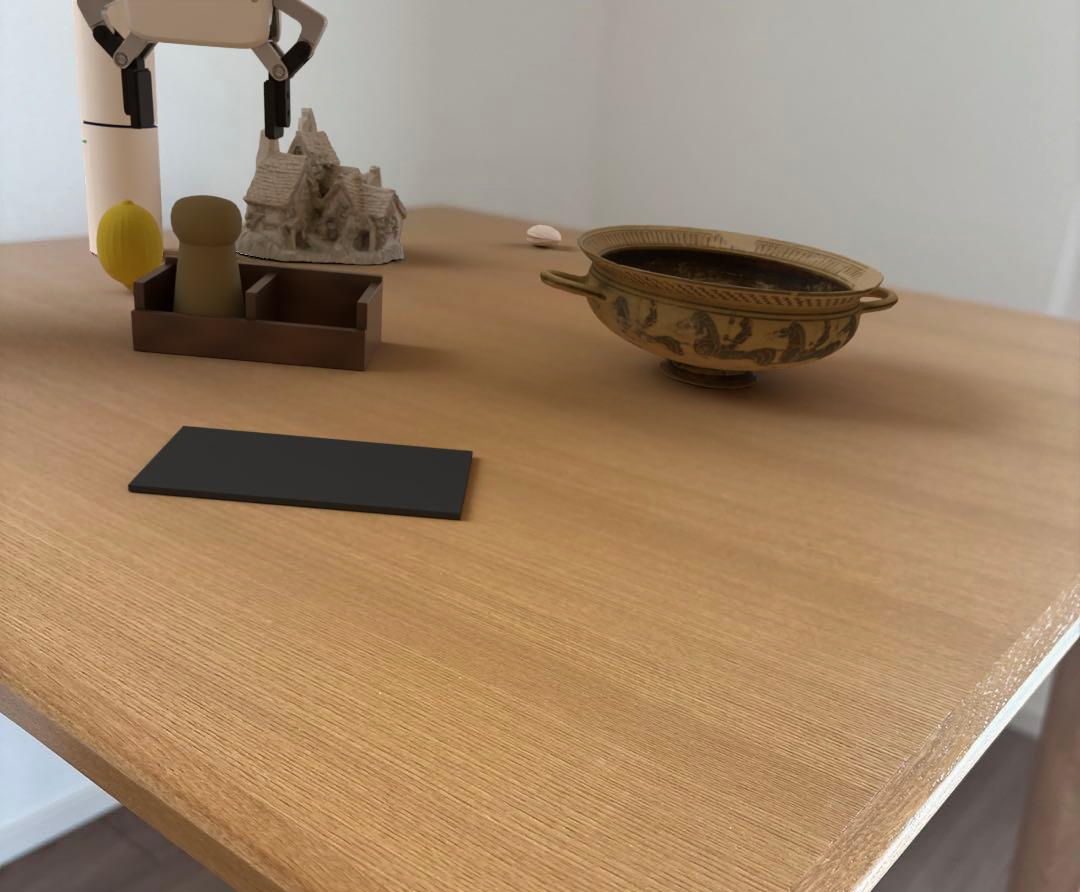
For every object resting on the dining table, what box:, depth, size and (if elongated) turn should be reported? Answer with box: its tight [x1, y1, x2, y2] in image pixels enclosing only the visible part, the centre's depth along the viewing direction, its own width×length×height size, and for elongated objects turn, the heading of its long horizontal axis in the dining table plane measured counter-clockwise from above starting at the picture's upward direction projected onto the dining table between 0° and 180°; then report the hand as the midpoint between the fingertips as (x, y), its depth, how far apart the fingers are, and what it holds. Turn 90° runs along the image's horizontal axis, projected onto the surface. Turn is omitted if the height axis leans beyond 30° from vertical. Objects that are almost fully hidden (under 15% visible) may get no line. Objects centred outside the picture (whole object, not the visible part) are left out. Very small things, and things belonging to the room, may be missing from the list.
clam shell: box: [526, 224, 562, 247], centre depth 140 cm, size 4×5×2 cm
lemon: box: [96, 199, 164, 292], centre depth 100 cm, size 6×6×8 cm
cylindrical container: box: [71, 0, 165, 254], centre depth 111 cm, size 7×7×25 cm
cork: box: [169, 194, 246, 319], centre depth 87 cm, size 6×6×11 cm
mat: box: [127, 425, 474, 520], centre depth 66 cm, size 18×10×1 cm, turn 89°
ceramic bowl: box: [539, 224, 899, 390], centre depth 91 cm, size 30×24×10 cm
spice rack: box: [130, 254, 384, 372], centre depth 88 cm, size 17×9×6 cm, turn 89°
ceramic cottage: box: [235, 107, 408, 265], centre depth 122 cm, size 16×16×15 cm
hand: (208, 132), depth 83 cm, fingers open, 9 cm apart
